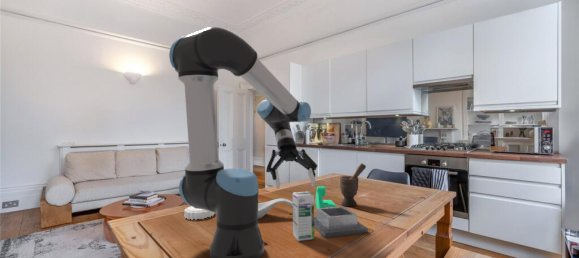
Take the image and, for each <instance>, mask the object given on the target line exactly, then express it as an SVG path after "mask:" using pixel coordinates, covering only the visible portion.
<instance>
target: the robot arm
mask: <svg viewBox="0 0 579 258" xmlns="http://www.w3.org/2000/svg"><path fill="white" fill-rule="evenodd" d="M168 55H169V62H170V65H171V67H172V68H174V71H175V72H176V73H178V74H177V75H178V76H177V78H178V80H179V81H180V82H181V83H183V84H184V96H185V97H184V98H185V111H186V112H185V113H186V126H187V138H188V139H187V140H188V141H187V142H188V154H189V163H188V164H187V165H186V166H185V167H184V168H185V169H184V171H185V173H184V175H182V179H181V180H180V182H179V185H178V186H179V187H178V193H179V196H180V198H181V199H182V201H183V202H184V203H185V204H187V205H189V207H190V206H193V207H194V208H198V209H204V210H208V211H212V212H215V214H216V228H215V232H214V234H213V237H212V238H213V239H212V242H211V245H210V246H209V258H262V256H263V255H264V253H265V243H264V240H263V237H262V234H261V230H260V228H259V218H258V203H259V184H258V176H257V175H256V174H255V173H254V172H253V171H250V170H247V169H241V168H225V165H224V163H223V162H222V161H221V160H220V159H219V147H218V146H219V145H218V131H217V130H218V129H217V118H216V100H215V99H216V98H215V83H216V82H217V81H218V80H219V70H225V71H228V72H230V73H231V74H232V75H234V76H235V77H238V78H239V77H241V78H242V79H243V80H244V81H246V82H247V83H248V84H249V85H250V86H251V87H252V88H254V89H255V91H256V92H258V93H259V94H260V95H261V96H262V97H263V98H264V99H263V100H262V101H261V102H260V103H258V105H257V107H256V112H257V114H258V115H259V116H260V118H261V119H262V120H263V121H264V122H265V123H266V124H267V125H268V126H269V127H270V128H271V129H272V131H273V133H274V136H275V141H276V146H277V150H278V151H276V149H272V151H271V157H270V159H269V161H268V164H267V166H266V171H265V172H266V173H270V175H271V176H272V177H271V178H272V180H273V181H275V185H276V189H278V190H279V189H280V187H281V181H280V176H279V171H278V169H279V167H280V166H281V165H282V164H283V163H284V161H285V162H296V163H298V164H299V165H301V166H302V167H303V168H305V169H306V170H307V174H308V177H309V180H310V184H311V187H315V185H316V179H315V177H316V176H317V175H316V174H317V173H316V172H315V171H316V170H317V168H318V164H317V163H316V162H315V161H314V160H313V159H312V158H311V157H310V156H309V154H308V153H307V152H306V150H305V149H303V148H302V149H301V150H298V149H297V146H296V142H295V138H294V135H293V132H292V131H293V130H292V128H291V125H290V123H301V122H308V121H309V120H310V118H311V115H312V108H311V105H310V103H308V102H306V101H299V100H297V98H296V97H295V96H293V94H292V93H291V92H290V91H289V90H288V89H287V88H286V87H285V86H284V84H282V83H281V82H280V81H279V79H278V78H277V77H276V76H275V75H274V74H273V73H272V71H270V70H269V69H268V68H267V67H266V65H264V63H263V62H262V61H261V60H260V59H259V54H258V52H257V50H255V49H254V48H253V47H252V46H251V44H249V42H247V41H246V40H244V39H243V38H242V37H240V36H239V35H237V34H235V33H234V32H232V31H230V30H227V29H225V28H222V27H217V26H210V27H206V28H204V29H201V30H199V31H195V32H192V33H190V34H185V35H183V36H180V38H177V39H176V40H175V41H174V42H173V43H172V45H171V46H170V49H169V54H168ZM276 157H279V158H278V159H277V161H276V162H275V164H273V163H274V161H275V158H276Z"/></svg>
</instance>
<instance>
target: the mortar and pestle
mask: <svg viewBox="0 0 579 258" xmlns="http://www.w3.org/2000/svg"><path fill="white" fill-rule="evenodd" d="M366 168H367V165H365V164H364V163H360V164H359V165H358V167H357V169H356V170H355V171H354V174H353V175H342V176H340V177H339V187H340V188H339V189H340V192H341V194H342V196H343V199H342V200H341V201H340V205H341V206H343V207H357V205H358V204H357V201H356V200H355V198H354V197H355V196H357V194H358V191H359V176H360V175H361V174H362V173H363V172H364V170H365V169H366Z"/></svg>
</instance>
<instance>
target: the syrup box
mask: <svg viewBox="0 0 579 258" xmlns="http://www.w3.org/2000/svg"><path fill="white" fill-rule="evenodd" d="M292 202H293V208H292V235H293V236H294V238H295V239H296V240H297V242H301V241H308V240H309V241H311V240H314V239H315V228H314V217H315V195H314V194H313V193H312V192H311V191H309V190H308V191H307V190H306V191H299V192H297V191H296V192H294V191H293V192H292Z"/></svg>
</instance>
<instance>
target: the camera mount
mask: <svg viewBox="0 0 579 258" xmlns="http://www.w3.org/2000/svg"><path fill="white" fill-rule="evenodd" d="M326 192H327V191H326V187H325V186H324V185H322V186H320V185H319V186H316V192H315V198H314V205H316V209H317V208H329V207H338V206H337V205H336V204H335V202H333V200H332V199H323V197H326Z"/></svg>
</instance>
